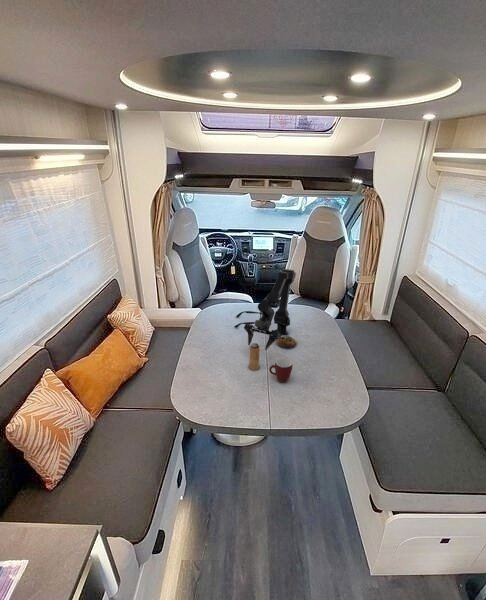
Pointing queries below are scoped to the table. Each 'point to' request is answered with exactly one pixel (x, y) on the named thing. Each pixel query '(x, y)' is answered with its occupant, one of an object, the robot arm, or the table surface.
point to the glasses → (247, 322)
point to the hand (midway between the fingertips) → (257, 347)
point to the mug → (282, 369)
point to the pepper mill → (254, 356)
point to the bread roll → (286, 342)
